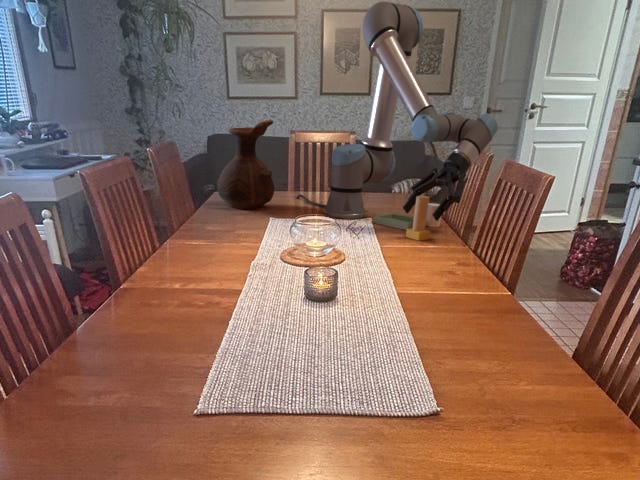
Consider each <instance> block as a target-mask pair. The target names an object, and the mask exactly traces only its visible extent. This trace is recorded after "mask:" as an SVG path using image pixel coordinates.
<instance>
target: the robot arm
mask: <svg viewBox="0 0 640 480" xmlns="http://www.w3.org/2000/svg"><path fill="white" fill-rule="evenodd" d="M423 32H424V22H423V18H422V16H421V13H420V12H419V11H418V9H417V8H415V7H413V6H410V5H407V4H401V3H396V2H395V3H394V2H389V1H378V2H376V3H374V4H372V5H371V6H370V8H369V9H368V10H367V11H366V13H365V14H364V18H363V21H362V35H363V40H364V42H365V45H366V48H367V49H368V50H369V53H370V54H371V56H372V57H374V58H377V60H378V62H379V64H378V68H377V74H376V81H375V86H374V91H373V98H372V103H371V109H370V115H369V120H368V126H367V130H366V131H367V132H366V136H365V137H363V139H361V142H360V143H350V144H341V145H338V146H336V147H335V148H333V150H332V157H331V168H330V169H331V172H330V191H329V195H328V198H327V202H326V204H322V203H319V202H318V203H317V202H314V201H311V200H310V199H309V198H307V197H306V196H305V195H303V194H301V193H300V194H298V195H297V196H296V199H299V198H301V199H303V200H304V201H306V202H307V203H308V204H309V205H312V206H315V207H319V208H324V209H323V210H324V211H323V214H324V216H326V217H328V216H329V218H334V219H341V220H342V219H343V220H355V219H356V220H357V219H358V220H359V219H363V218H365V217H366V208H365V207H366V204H365V202H364V198H363V187H364V186H363V185H364V184H370V183H371V184H374V183H375V184H378V183H380V182H384V181H386V180H388V178H390V176H391V175H392V174H393V173H394V170H395V167H396V157H395V153H394V151H393V147H394V144H393V143H392V142H391V135H392V130H393V126H394V120H395V115H396V110H397V104H398V100H400V102H401V103H402V105H403V108H404V110H405V111H406V113H407V114H408V116H409V118H410V120H411V122H412V124H411V134H412V137H413V138H414V140H416V141H417V142H419V143H426V144H428V143H436V142H437V143H438V142H439V143H441V142H442V143H443V142H453V143H456V144H457V145H456V146H455V148H453V149H452V151H451V153H450V154H449V155H448V157H447V158H446V159H445V161H444V163H443V167H442V168H441V169H440V170H439V169H438V168H437V167H436V166H435V167H433V168H432V170H430V171H429V173H427V174H426V175H425V176H423V177H422V178H421V179H420V180H418V181H417V182H416V183H415V184H413V185H412V186H411V187H410V189H411V191H412V193H411V194H410V196H409V197H408V198H407V201H406V202H405V203H404V205H403V206H402V209H403V210H404V212H405V213H406V214H409V213H410V211H411V210H412V209H413V207H415V205H416V197H417V196H422V195H423V194H425V193H427V192H429V191H430V190H432V189H434V188H436V187H437V188H438V187H440V186H442V187H446V188H447V195H446V197H444V199H443V200H442V201H441V202H440V203H439V204H440V205H439V206H438V208H437V209H436V210H435V212H434V213H433V214H432V215H433V217H434V218H435V220H436V221H438V220H439V218H440V217H441V216H442V217H443V215H444V214H445V212H447V211H448V209H449V208H451V206H452V205H453V204H455V203H456V204H459V203H461V199H462V196H463V192H464V189H465V185H466V184H467V182H468V180H469V178H468V176H467V172H468V171H469V170H470V168H471V167H472V166H473V164H474V163H475V162H476V161H477V159H478V158H479V156H480V155H481V153H482V152H483V151H484V150H485V148H486V147H487V146H488V145H489V144H490V142H492V140H493V138H494V137H495V135H496V134H497V132H498V130H499V125H498V121H497V119H496V118H495V117H494V116H493V115H491V114H489V113H481V114H479V116H478V117H477V118H476V119H474V118H468V117H465V116H463V115H459V114H455V112H448V111H443V112H442V113H441V114H439V113H438V111H437V110H436V109H435V106H434V104H433V103H432V101H431V99H430V97H429V95H428V94H427V92H426V90H425V88H424V86H423V85H422V82H421V81H420V79H419V77H418V75H417V73H416V72H415V70H414V68H413V66H412V64H411V62H410V58H412V54H413V53H412V52H413V49H414V48H416V47H417V45H418V44H420V41H421V40H422V37H423ZM442 217H441V218H442Z"/></svg>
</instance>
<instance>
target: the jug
mask: <svg viewBox="0 0 640 480" xmlns="http://www.w3.org/2000/svg"><path fill="white" fill-rule="evenodd" d="M273 124H274V120H272V119H267V120H262V121H260V122H258V123H256V124H255V125H254V126H252V127H251V126H250V127H249V126H248V127H232V128H229V129H228V133H229V134H230V135H232V136H234V137H235V143H236V144H235V146H236V148H235V155H234V157H233V158H232V159H231V160H230V161H229V162H228V163H227V165H226V166H225V167H224V168H223V170H221V171H222V172H221V173H220V175H219V178H218V180H217V184H216V187H217V192H218V195H219V197H220V199H221V200H223V202H224V203H225V204H226V205H227V206H228V207H229V208H232V209H234V208H235V209H241V210H254V209H258V208H261V207H263V206H264V205H266V204H268V203H270V202H271V201H272V199H273V197H274V194H275V190H276V189H275V183H274V179H273V178H272V174H273V171H272V170H269V169H268V167H267V165H266V164H265V163H264V162H263V161H262V160H261V159H259V158H258V156H257V153H256V144H257V141H258V138H260V137H263V136H264V135H265V134H266V131H267V130H268V128H269V127H270V126H272V125H273Z"/></svg>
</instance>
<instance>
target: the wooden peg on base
mask: <svg viewBox="0 0 640 480" xmlns="http://www.w3.org/2000/svg"><path fill="white" fill-rule="evenodd" d="M429 203H430V196H427V195H420V196H417V197H416V203H415V205H414V214H413V218H414V221H413V228H410V229H407V230H405V231H406V232H405V237H406V238H408V239H412V240H415V241H417V242H419V241H426V240H430V238H431V230H428V229H426V226H425V225H426V218H427V211H428V204H429Z"/></svg>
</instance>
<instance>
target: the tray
mask: <svg viewBox="0 0 640 480" xmlns="http://www.w3.org/2000/svg"><path fill="white" fill-rule="evenodd" d="M413 221H414V216H407V215H403V214H399V213H394V212H392V213H386V214H385V213H384V214H379V215H378V214H377V215H374V217H373V223H374V224H378V225H382V226H386V227H391V228H395V229H400V230H403V231H406V230H407V229H410V228H413ZM425 227H427V226H426V225H425Z"/></svg>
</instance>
